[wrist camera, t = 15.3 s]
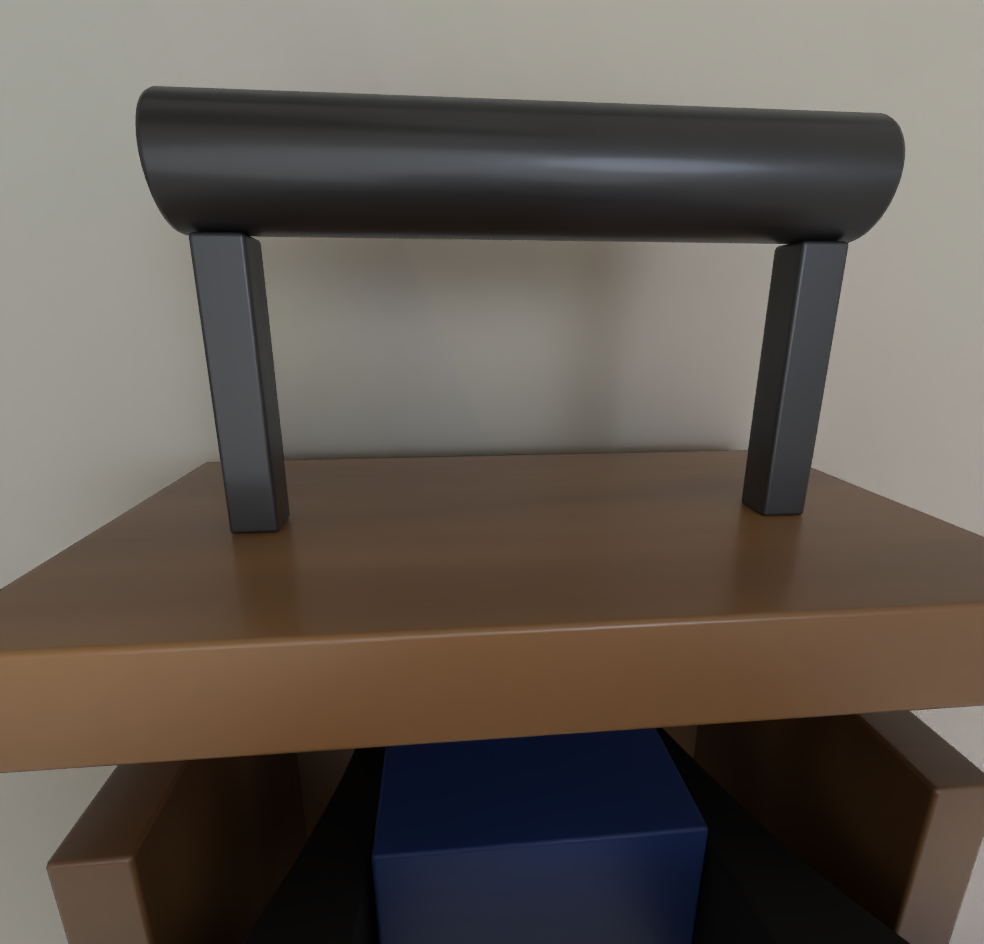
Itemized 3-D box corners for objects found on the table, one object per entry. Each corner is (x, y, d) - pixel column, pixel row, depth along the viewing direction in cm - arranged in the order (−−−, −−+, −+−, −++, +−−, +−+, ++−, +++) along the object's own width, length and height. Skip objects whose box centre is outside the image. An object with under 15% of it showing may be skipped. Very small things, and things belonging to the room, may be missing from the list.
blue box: (591, 785, 12) (678, 1051, 8) (408, 799, 12) (389, 1087, 7) (602, 624, 11) (710, 828, 6) (399, 634, 10) (370, 857, 6)
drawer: (162, 173, 9) (-400, -124, 3) (805, 188, 10) (1358, -9, 4) (280, 965, 14) (161, 1449, 8) (699, 922, 15) (872, 1324, 9)
